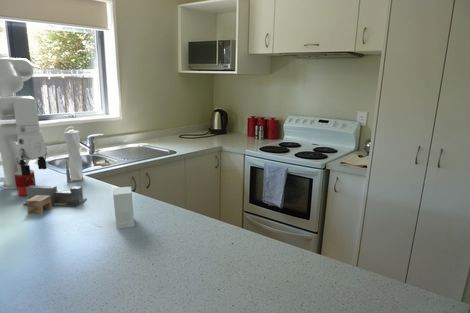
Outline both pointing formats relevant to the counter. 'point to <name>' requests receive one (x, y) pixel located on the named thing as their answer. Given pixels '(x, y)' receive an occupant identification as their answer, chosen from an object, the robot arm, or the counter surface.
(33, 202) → the tan slotted wooden block
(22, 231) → the counter surface
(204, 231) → the counter surface
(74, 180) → the skyscraper
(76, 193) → the notched rail
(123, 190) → the small box
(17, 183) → the canned food
